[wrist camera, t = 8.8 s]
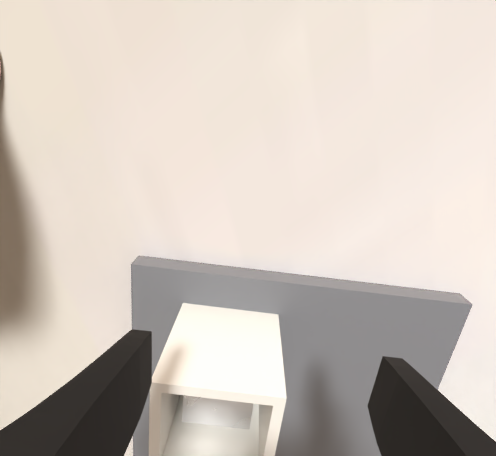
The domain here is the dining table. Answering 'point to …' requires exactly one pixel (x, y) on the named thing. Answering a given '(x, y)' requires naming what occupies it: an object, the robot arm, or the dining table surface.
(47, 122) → the dining table surface
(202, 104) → the dining table surface
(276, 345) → the collar
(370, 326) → the duct panel
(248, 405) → the duct stub
